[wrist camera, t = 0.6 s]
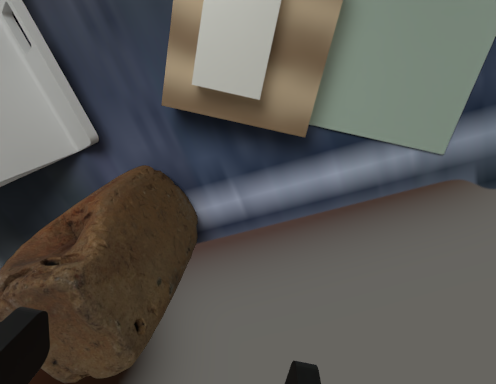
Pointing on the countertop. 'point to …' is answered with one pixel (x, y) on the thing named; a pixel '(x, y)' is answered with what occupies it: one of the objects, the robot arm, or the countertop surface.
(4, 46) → the tablet stand
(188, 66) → the board
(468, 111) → the countertop surface
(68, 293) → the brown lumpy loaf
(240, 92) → the pale grey rectangular block
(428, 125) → the mat
